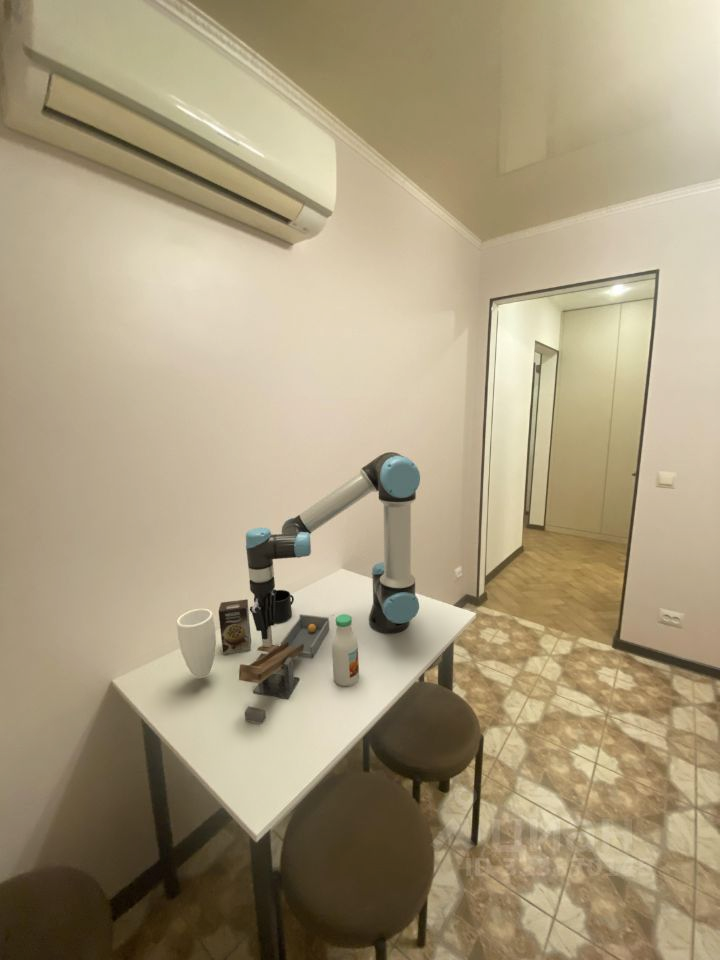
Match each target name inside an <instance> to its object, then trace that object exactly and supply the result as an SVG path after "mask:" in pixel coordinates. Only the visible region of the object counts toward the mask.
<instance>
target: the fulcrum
mask: <svg viewBox="0 0 720 960" xmlns="http://www.w3.org/2000/svg"><path fill="white" fill-rule="evenodd" d="M266 654H267V653H260V655H259V656H258V657H257V658H256V660H258V659H259V658H261V657H262V656H264V655H266ZM293 659H294V658H293ZM293 659H292V658H289V657H288V658H287V660H286V661H285V663H284V664H283V665H284V669H283V674H279V673H273V674H272V675H271V676H269V677H268V678H267V679H265V680H264V681H263V682H261V683H260V684H258V683H257V685H256V686H255V687H254V689H252V693H253V694H254V695H261V696H265V697H271V698H277V699H282V700H289V699H290V697H291V695H292V694H293V692H294V690H295V689H296V687H297V685H298V683H299V681H300V677H299V676H295V674H294V662H293V661H294V660H293Z"/></svg>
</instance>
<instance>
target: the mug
mask: <svg viewBox="0 0 720 960" xmlns="http://www.w3.org/2000/svg"><path fill="white" fill-rule="evenodd" d="M275 590H276V596H275V619H274V621H273V620H272V622H273V623H274V624H280V623H284V622H287V621H289V620H290V619H291V618H292V614H293V613H292V605H293V604H294V600H295V597H294V596H293V594H291V593H290V592H289V591H288V590H285V589H275Z"/></svg>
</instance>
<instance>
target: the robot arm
mask: <svg viewBox="0 0 720 960" xmlns="http://www.w3.org/2000/svg"><path fill="white" fill-rule="evenodd" d="M420 473H421V472H420V471H419V469H418V466H417V465H416V464H415V463H414V462H413V460H411V459H410V458H408V457H407V456H403V455H401V454H400V453H398V452H390V451H389V452H385V453H382V454H381V455H379V456H377V457H376V458H374V459H373V460H371V461H370V462H369V463H367V464H366V465H364V466H363V467H361V468H360V471H359V473H358V474H357V475H355V476H353V477H352V478H351V479H349V480H348V481H347V482H345V483H344V484H342V485H341V486H339V487H337V488H336V489H335V490H334V491H332V492H331V493H329V494H327V495H326V496H325V497H322V499H320V500H318V502H315V503H314V504H313V505H311V506H310V507H309V508H307V509H306V510H304V511H302V512H301V513H300V514H298V515H297V516H295V517H290V518H287V519H286V520H285V521H284V523H283V525H282V527H281V534H280V533H279V534H272V532H271V530H270V528H268V527H255V528H252V529H250V530H248V531H247V532H246V533H245V544H246V545H245V550H246V558H247V566H248V567H247V569H248V578H249V590H250V592H251V593H252V594H253V596H254V598H253V602H254V603H253V606H250V607H249V611H250V613H251V614H252V619H253V622H254V626H255V629H256V631H258V632H260V633H261V643H262V645H263V646H264V647H271V646H272V645H274V644H273V634H272V633H273V632H272V626H273V627H274V626H275V623H273V622H272V620H273V621H274V619H275V596H276V590H277V589H276V588H275V587H276V584H275V583H276V582H275V572H274V571H275V569H274V561H273V560H280V559H281V560H282V559H293V558H294V559H295V558H296V559H297V558H298V559H299V558H303V557H309V556H310V555H311V553H312V549H311V534H312V533H313V532H314V531H316V530H317V529H319V528H321V527H322V526H323V525H325V524H327V523H328V522H329V521H331V520H332V519H334V518H335V517H337V516H338V515H340V514H341V513H343V512H344V511H346V510H348V509H349V508H350V507H352V506H353V505H354V504H356V503H357V502H360V500H362V499H364V498H365V497H367V496H368V495H369V494H370V493H372V492H374V493H377V492H378V500H379V501H380V502H381V503H382V504H383V553H384V554H383V557H384V558H383V560H384V561H383V562H378V563H376V564H374V565H373V567H372V570H371V571H372V572H371V576H372V579H371V580H372V601H373V602H372V605H371V606H372V607H371V608H370V612H369V615H368V624H369V627H370V628H372V629H373V630H374V631H376V632H379V633H383V634H397V633H401V632H403V631H405V630H406V629H407V628H408V627H409V626H410V621H411V620H412V619H413V618H415V617H416V616H417V614H418V613H419V609H420V603H419V602H420V601H419V598H418V597H417V595H416V578H415V576H414V575H413V574H412V572H411V570H412V569H411V567H412V563H411V561H412V560H411V559H412V557H411V556H412V554H411V553H412V550H411V549H412V544H411V543H412V542H411V541H412V540H411V539H412V536H411V535H412V534H411V533H412V530H411V529H412V523H411V522H412V519H411V518H412V517H411V515H412V507H411V506H412V504H413V503H414V502H415V501H416V499H417V495H416V494H417V490H418V488H419V486H420V484H421V482H420V481H421V474H420Z"/></svg>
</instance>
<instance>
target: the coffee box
mask: <svg viewBox="0 0 720 960" xmlns="http://www.w3.org/2000/svg"><path fill="white" fill-rule="evenodd" d="M248 601H249V600H248V599H237V600H230V601H223V602H220V604H219V609H218V620H219V628H220V636H221V637H220V639H221V650H222V655H224V656H225V655H231V654H237V653H238V654H239V653H243V652H244V653H245V652H249V651H251V649H252V648H251V647H252V633H251V623H250V613H249V611H250V609H249V602H248Z"/></svg>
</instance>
